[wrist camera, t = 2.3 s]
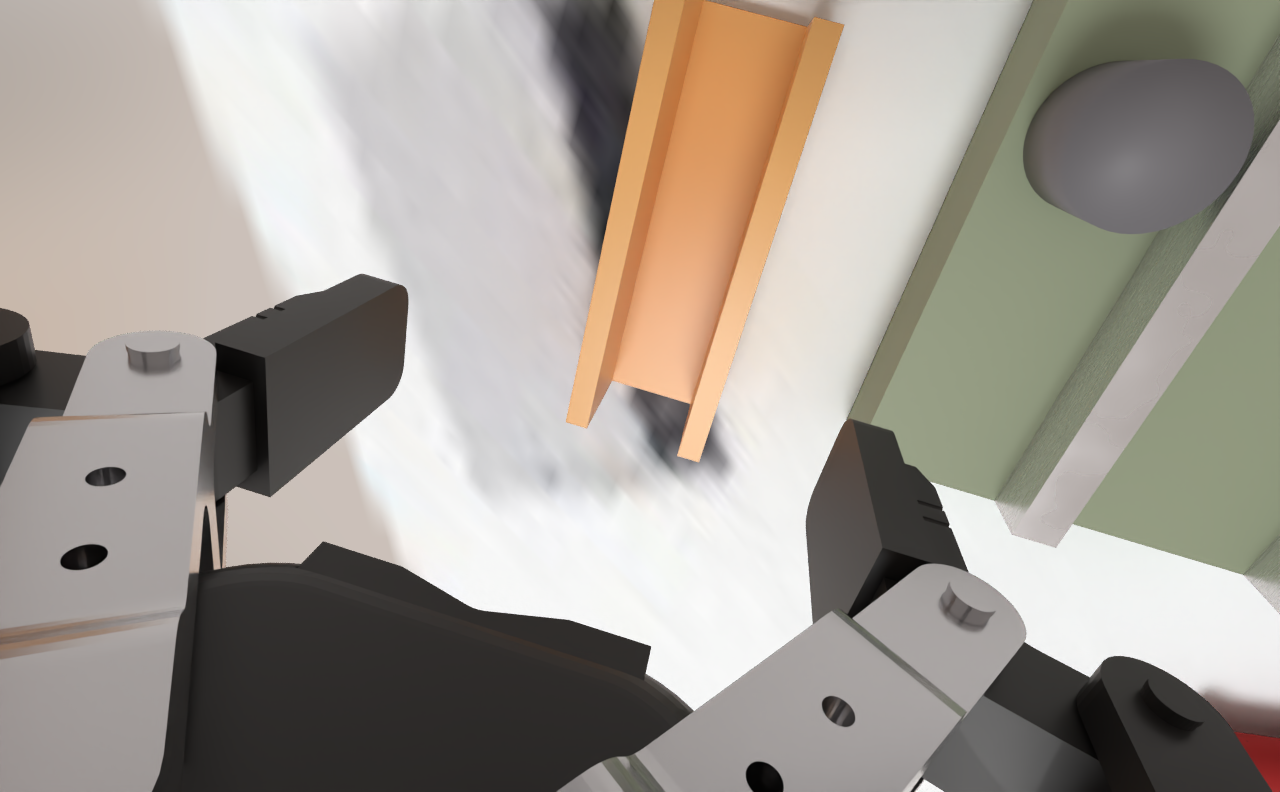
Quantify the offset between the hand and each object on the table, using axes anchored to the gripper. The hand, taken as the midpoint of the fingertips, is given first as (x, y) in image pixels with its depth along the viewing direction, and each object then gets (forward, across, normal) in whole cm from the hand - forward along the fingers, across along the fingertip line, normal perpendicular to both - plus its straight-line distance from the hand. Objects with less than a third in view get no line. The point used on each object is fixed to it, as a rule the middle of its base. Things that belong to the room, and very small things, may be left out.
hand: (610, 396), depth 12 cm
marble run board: (+15, -16, -2) cm, 22 cm away
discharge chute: (+15, 0, 0) cm, 15 cm away
